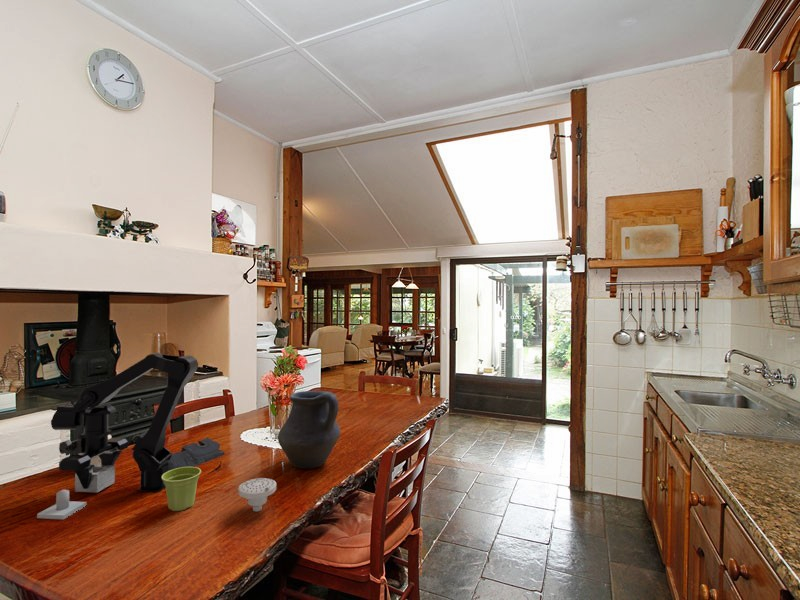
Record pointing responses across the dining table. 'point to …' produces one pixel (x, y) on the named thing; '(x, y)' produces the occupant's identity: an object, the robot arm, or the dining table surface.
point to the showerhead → (257, 491)
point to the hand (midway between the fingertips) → (95, 483)
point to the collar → (98, 479)
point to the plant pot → (181, 487)
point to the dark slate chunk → (195, 454)
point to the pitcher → (310, 429)
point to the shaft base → (63, 512)
